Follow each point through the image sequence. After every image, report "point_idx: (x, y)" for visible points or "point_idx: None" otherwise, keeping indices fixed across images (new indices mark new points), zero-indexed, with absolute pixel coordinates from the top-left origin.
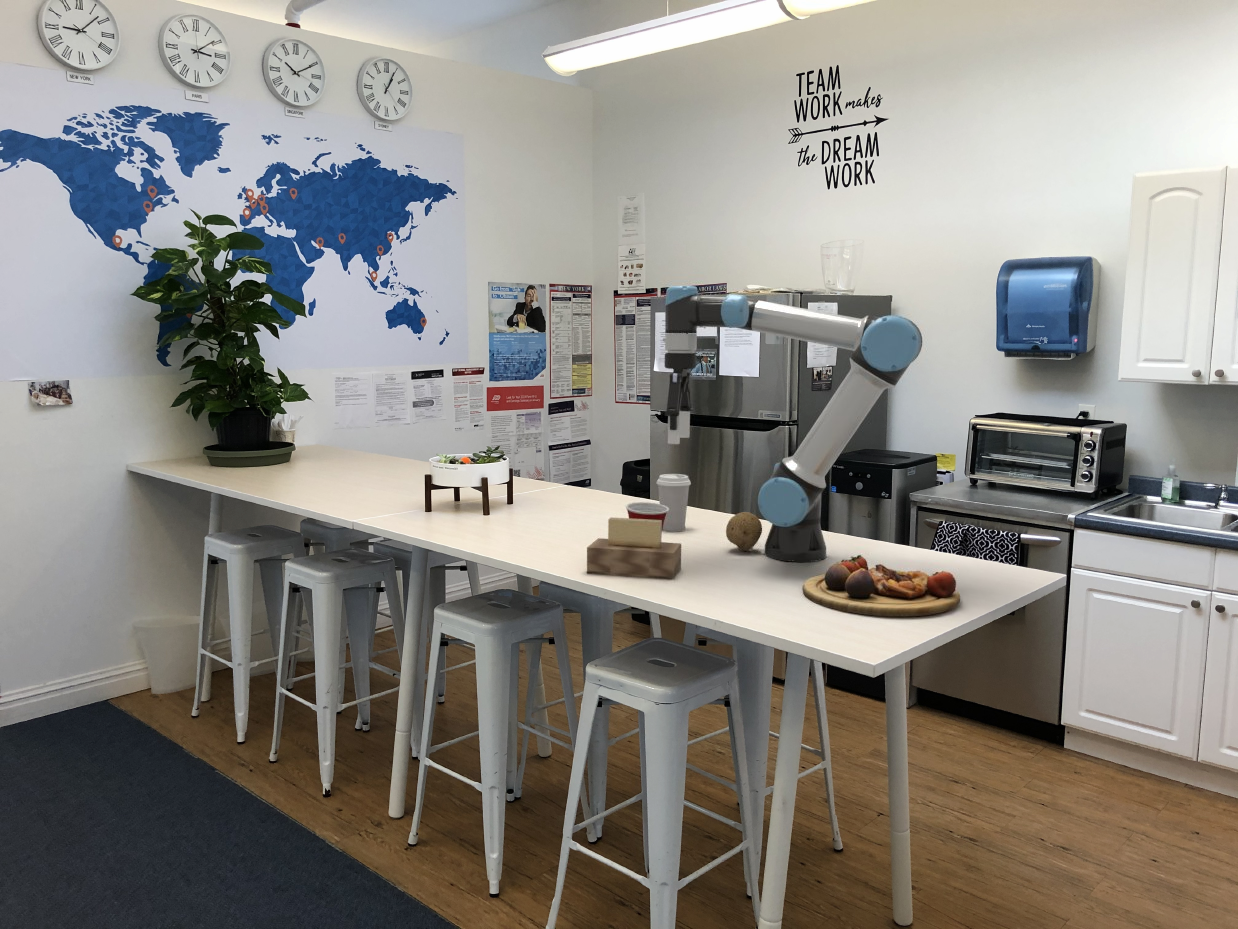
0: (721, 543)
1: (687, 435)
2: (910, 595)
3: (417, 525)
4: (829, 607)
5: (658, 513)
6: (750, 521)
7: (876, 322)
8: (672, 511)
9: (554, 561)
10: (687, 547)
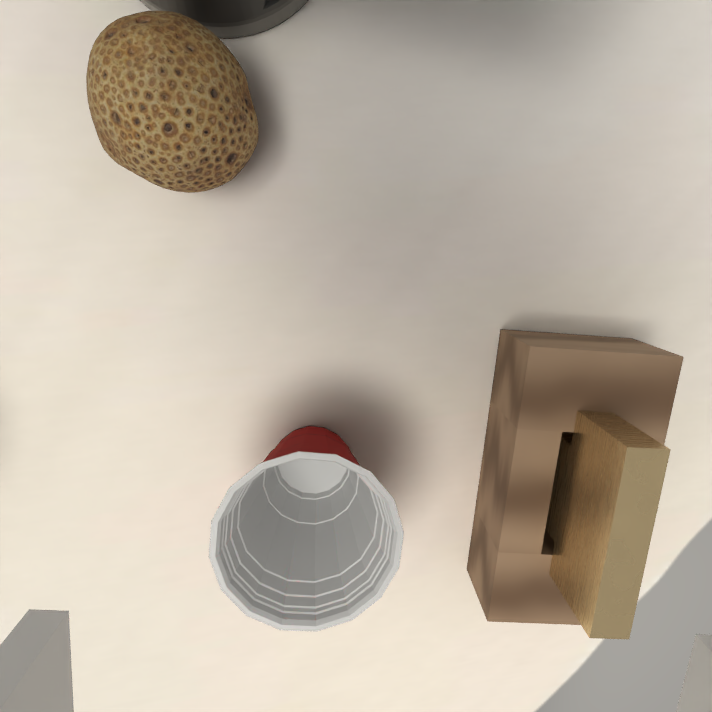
0: (93, 219)
1: (54, 649)
2: None
3: None
4: None
5: (379, 483)
6: (211, 61)
7: None
8: None
9: (467, 676)
10: (196, 338)
